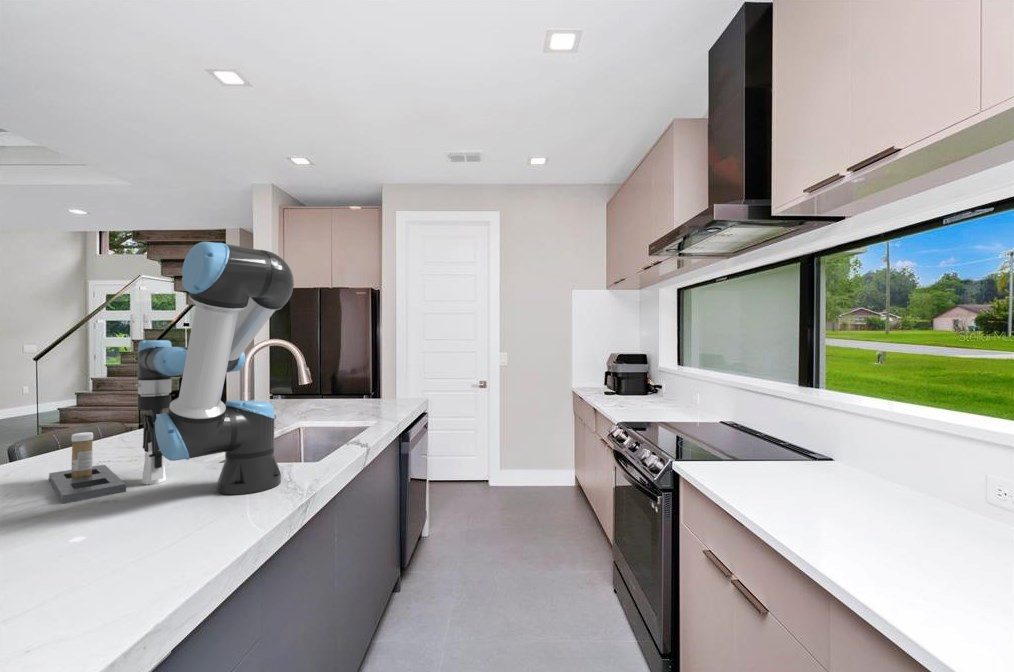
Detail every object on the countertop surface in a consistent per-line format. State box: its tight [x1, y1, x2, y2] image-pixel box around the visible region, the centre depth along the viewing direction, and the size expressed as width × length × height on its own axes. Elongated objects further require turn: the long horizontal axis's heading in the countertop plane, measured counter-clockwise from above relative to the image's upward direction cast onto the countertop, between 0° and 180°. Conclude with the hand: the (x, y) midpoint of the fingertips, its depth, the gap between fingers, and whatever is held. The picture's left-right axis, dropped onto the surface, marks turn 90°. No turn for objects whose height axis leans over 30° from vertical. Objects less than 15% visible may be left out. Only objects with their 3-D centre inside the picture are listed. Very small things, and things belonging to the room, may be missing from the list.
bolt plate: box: [48, 464, 127, 505], centre depth 125 cm, size 30×12×2 cm, turn 49°
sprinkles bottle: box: [70, 431, 94, 478], centre depth 130 cm, size 5×5×14 cm
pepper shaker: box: [141, 443, 167, 486], centre depth 129 cm, size 5×5×11 cm
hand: (153, 476), depth 129 cm, fingers open, 6 cm apart
